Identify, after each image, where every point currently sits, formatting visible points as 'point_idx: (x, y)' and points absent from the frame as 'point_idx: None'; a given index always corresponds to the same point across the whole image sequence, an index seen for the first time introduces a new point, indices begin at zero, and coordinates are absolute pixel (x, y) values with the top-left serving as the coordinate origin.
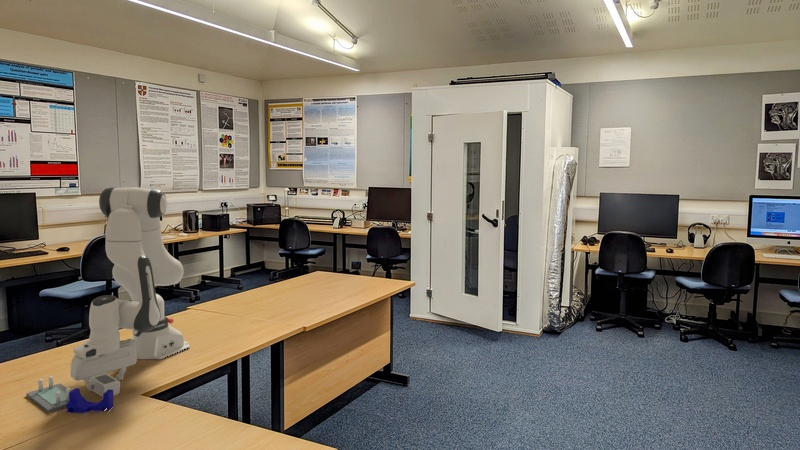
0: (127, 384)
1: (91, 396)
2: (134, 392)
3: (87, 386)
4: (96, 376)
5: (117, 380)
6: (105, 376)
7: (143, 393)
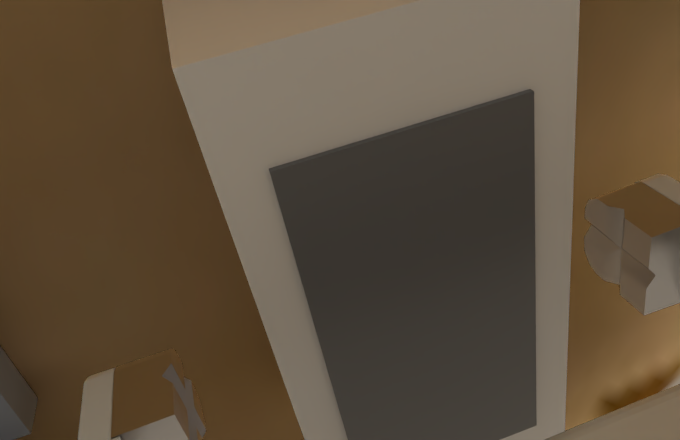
0: (649, 111)
1: (155, 282)
2: (583, 352)
3: (88, 421)
4: (331, 101)
5: (556, 420)
6: (487, 212)
7: (622, 395)
